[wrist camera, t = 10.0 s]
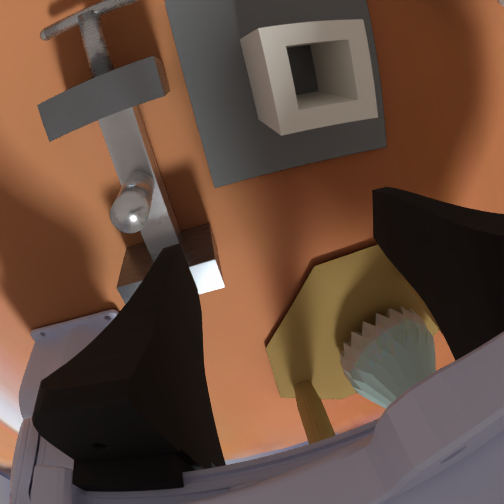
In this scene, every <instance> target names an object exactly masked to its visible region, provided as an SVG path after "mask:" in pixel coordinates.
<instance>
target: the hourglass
mask: <svg viewBox="0 0 504 504" xmlns="http://www.w3.org/2000/svg"><path fill="white" fill-rule="evenodd" d="M438 330H440V328H439V326H438V324H437V322H436V321H435V319H434V317H433V316H432V314H431V312H430V311H429V309H428V307H427V306H426V304H425V303H424V301H423V300H422V299H421V297H420V296H419V295H418V293H417V292H416V291H415V290H414V288H413V287H412V286H411V285H410V284H409V283H408V281H407V280H406V279H405V278H404V277H403V275H402V274H401V273H400V272H399V271H398V270H397V269H396V267H395V266H394V265H393V264H392V263H391V262H390V260H389V259H388V258H387V257H386V255H385V254H384V252H383V251H382V250H381V248H380V246H379V245H375V246H372V247H369V248H366V249H363V250H360V251H358V252H355V253H352V254H349V255H346V256H343V257H340V258H337V259H334V260H331V261H328V262H325V263H323V264H320V265H317V266H314V268H313V270H312V271H311V273H310V275H309V277H308V278H307V280H306V282H305V284H304V285H303V287H302V289H301V290H300V292H299V294H298V296H297V297H296V299H295V301H294V302H293V304H292V306H291V308H290V309H289V311H288V313H287V314H286V316H285V318H284V319H283V321H282V323H281V324H280V326H279V328H278V329H277V331H276V333H275V334H274V336H273V337H272V339H271V341H270V342H269V344H268V346H267V347H266V351H267V354H268V358H269V361H270V364H271V368H272V371H273V374H274V377H275V381H276V384H277V387H278V390H279V393H280V397H283V398H296V401H297V407H298V410H299V414H300V417H301V420H302V423H303V426H304V429H305V432H306V435H307V439H308V442H309V444H312V443H315V442H318V441H321V440H324V439H327V438H330V437H333V436H336V435H335V433H334V430H333V428H332V426H331V423H330V421H329V418H328V416H327V413H326V411H325V408H324V406H323V404H322V401H321V399H342V398H345V397H348V396H350V395H353V394H355V393H359V394H360V395H362V396H364V397H365V398H367V399H369V400H371V401H373V402H374V403H376V404H378V405H380V406H382V407H384V408H387V407H388V405H390V404H391V403H392V402H393V401H394V400H396V399H397V398H398V397H399V396H400V395H401V394H403V393H404V392H405V391H406V390H407V389H408V388H410V387H411V386H413V385H415V384H416V383H418V382H419V381H421V380H423V379H424V378H426V377H427V376H429V375H430V374H432V373H434V372H435V371H436V368H435V347H434V340H433V336H434V335H435V334H436V333H437V331H438ZM440 331H441V330H440ZM441 333H442V332H441ZM442 334H443V333H442Z"/></svg>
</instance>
